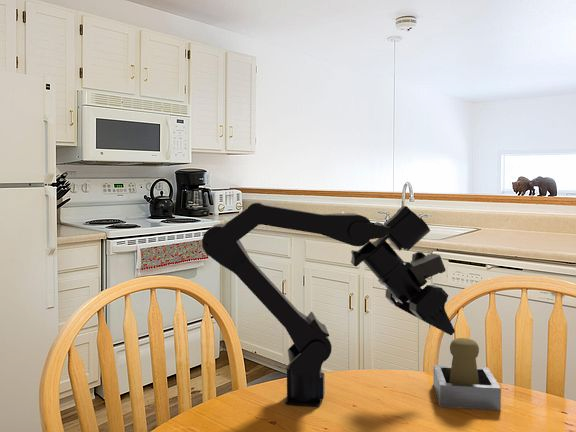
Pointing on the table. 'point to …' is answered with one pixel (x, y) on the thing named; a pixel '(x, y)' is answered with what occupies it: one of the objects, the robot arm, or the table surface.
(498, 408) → the open gray box
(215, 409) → the table surface
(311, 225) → the robot arm
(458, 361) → the olive pawn
